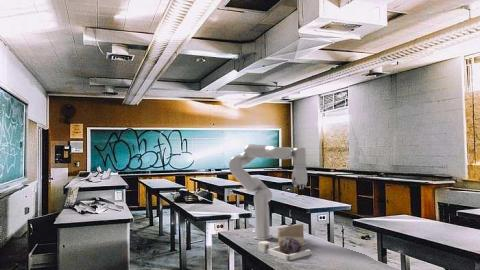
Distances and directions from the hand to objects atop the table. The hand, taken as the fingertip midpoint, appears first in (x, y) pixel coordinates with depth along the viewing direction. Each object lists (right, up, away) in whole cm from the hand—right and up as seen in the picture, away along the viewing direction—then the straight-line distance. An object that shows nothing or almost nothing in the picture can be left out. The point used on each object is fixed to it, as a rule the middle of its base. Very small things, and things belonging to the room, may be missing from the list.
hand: (300, 195), depth 244 cm
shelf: (-8, -29, -13) cm, 33 cm away
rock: (-10, -29, -30) cm, 43 cm away
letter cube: (-25, -29, -22) cm, 44 cm away
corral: (-11, -29, -29) cm, 42 cm away
